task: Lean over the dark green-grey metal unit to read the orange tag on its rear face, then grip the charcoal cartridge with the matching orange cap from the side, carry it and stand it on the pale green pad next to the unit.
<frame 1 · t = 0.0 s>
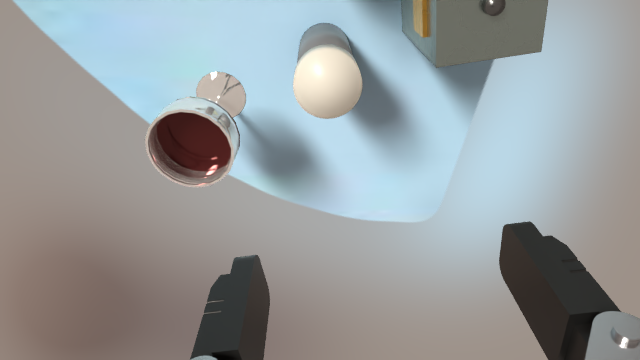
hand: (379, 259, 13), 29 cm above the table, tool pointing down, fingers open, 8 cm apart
wineglass: (221, 95, 41), on the table
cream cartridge: (324, 49, 38), on the table
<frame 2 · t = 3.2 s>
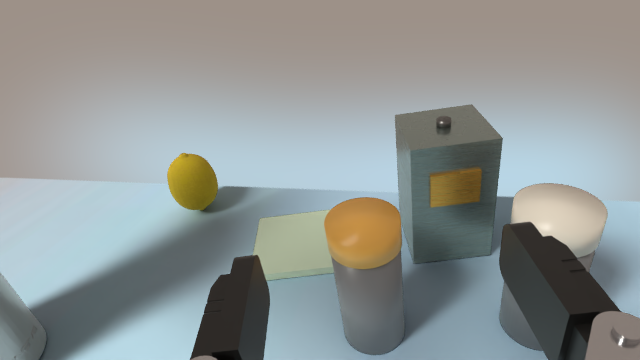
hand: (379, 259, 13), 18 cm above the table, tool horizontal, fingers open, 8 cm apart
lemon: (203, 210, 50), on the table
pad: (298, 245, 42), on the table
unit: (441, 235, 40), on the table
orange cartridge: (374, 327, 32), on the table
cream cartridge: (533, 322, 30), on the table
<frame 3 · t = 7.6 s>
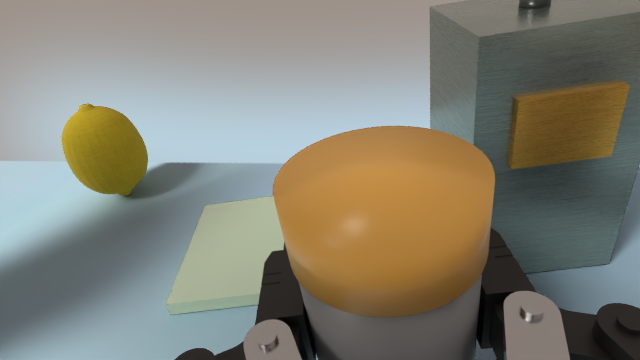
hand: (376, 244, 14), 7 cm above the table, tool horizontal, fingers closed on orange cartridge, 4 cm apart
lemon: (128, 196, 33), on the table
pad: (262, 247, 25), on the table
unit: (507, 228, 23), on the table
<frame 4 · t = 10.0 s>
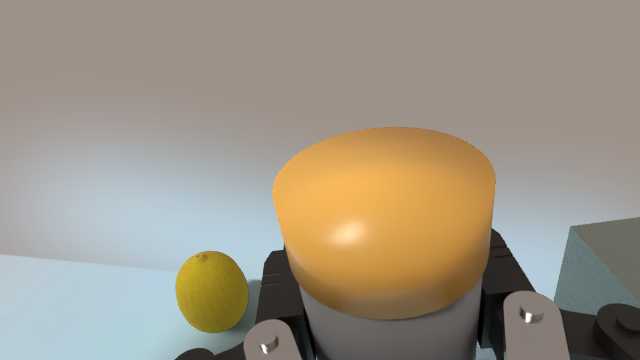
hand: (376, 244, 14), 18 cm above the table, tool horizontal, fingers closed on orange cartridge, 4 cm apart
lemon: (227, 326, 35), on the table
when the fingers open (8 cm above the table, at t = 12.8 s): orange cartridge stays where it is, resting on pad.
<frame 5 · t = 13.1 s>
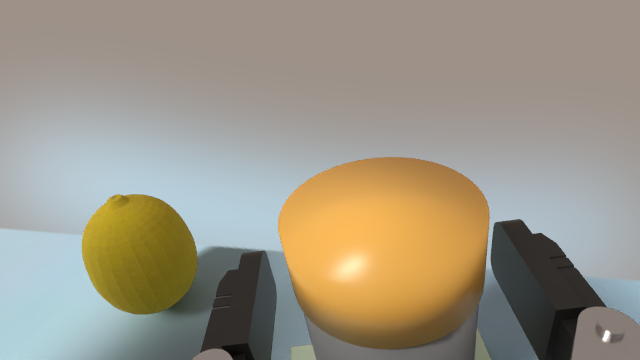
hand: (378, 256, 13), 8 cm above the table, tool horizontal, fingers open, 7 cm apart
lemon: (169, 306, 24), on the table
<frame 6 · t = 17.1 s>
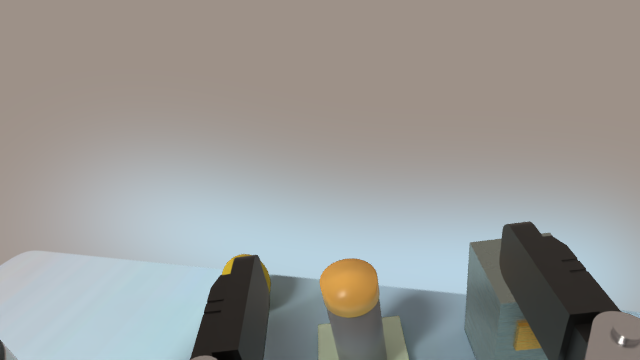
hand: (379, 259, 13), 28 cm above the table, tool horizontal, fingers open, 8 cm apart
lemon: (254, 307, 49), on the table
unit: (512, 355, 39), on the table
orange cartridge: (362, 357, 40), point 1 cm above the table, touching pad
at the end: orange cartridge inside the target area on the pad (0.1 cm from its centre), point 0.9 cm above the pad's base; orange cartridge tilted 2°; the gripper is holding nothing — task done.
